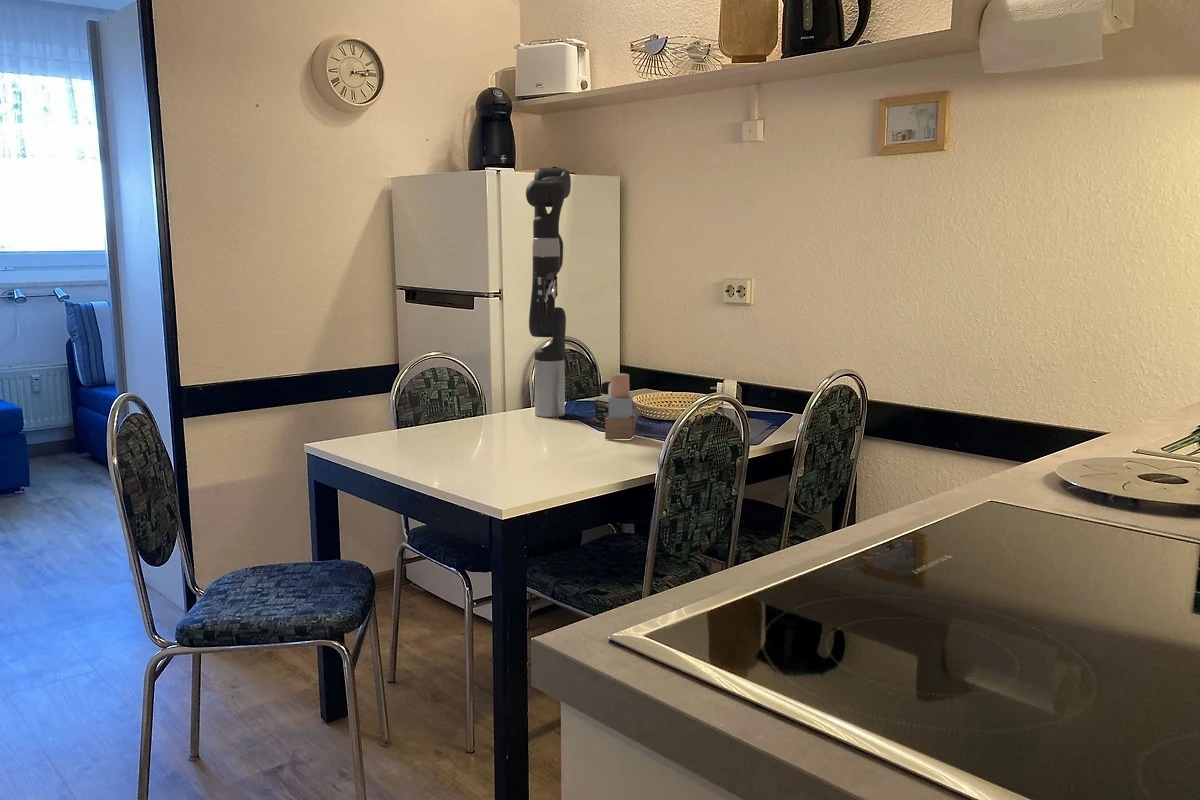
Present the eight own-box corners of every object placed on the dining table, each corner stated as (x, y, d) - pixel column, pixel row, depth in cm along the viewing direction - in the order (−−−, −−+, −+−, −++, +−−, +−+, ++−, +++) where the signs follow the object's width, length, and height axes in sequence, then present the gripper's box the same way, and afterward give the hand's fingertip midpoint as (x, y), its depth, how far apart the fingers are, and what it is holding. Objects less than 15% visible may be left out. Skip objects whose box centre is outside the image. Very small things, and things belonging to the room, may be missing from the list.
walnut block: (610, 435, 263) (610, 413, 262) (635, 436, 261) (635, 414, 260) (605, 440, 256) (605, 418, 255) (630, 441, 255) (630, 419, 254)
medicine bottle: (594, 421, 282) (594, 382, 280) (612, 418, 286) (612, 379, 284) (610, 425, 276) (611, 384, 274) (628, 422, 281) (628, 382, 279)
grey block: (612, 414, 261) (612, 394, 260) (631, 415, 260) (632, 395, 259) (608, 418, 256) (608, 398, 255) (628, 418, 254) (628, 398, 254)
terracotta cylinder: (613, 394, 260) (613, 373, 259) (631, 395, 259) (631, 373, 257) (609, 397, 255) (608, 375, 254) (627, 398, 254) (626, 376, 253)
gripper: (540, 254, 268) (540, 311, 271) (525, 255, 254) (526, 315, 257) (565, 254, 266) (566, 312, 269) (552, 255, 253) (552, 316, 255)
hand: (546, 314), depth 263 cm, fingers open, 8 cm apart
